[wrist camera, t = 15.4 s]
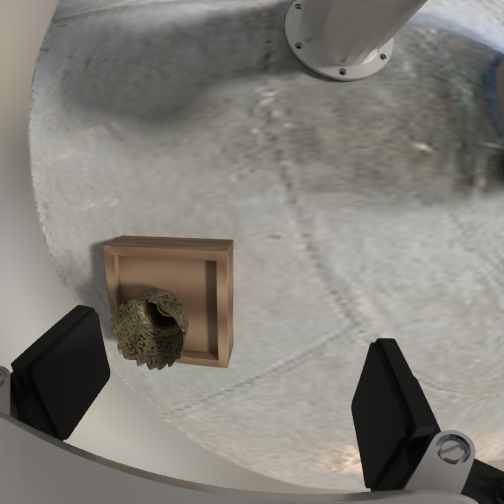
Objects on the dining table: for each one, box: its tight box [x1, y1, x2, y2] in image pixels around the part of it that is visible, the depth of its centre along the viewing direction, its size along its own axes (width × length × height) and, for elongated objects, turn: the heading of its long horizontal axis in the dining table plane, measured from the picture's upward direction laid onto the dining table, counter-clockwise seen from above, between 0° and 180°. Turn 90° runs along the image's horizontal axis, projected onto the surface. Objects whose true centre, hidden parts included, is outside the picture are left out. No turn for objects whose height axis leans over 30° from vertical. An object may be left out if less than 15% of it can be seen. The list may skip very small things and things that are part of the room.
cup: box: [110, 289, 189, 370], centre depth 31 cm, size 8×7×8 cm
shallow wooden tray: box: [103, 236, 233, 368], centre depth 36 cm, size 14×14×6 cm
